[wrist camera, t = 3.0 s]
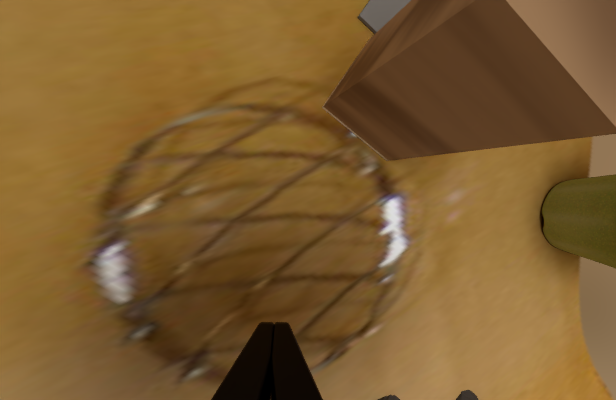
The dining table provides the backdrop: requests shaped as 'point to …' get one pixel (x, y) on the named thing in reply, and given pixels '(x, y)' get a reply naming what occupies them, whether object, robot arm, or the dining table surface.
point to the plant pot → (583, 218)
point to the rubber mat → (380, 12)
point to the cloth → (464, 399)
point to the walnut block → (482, 76)
